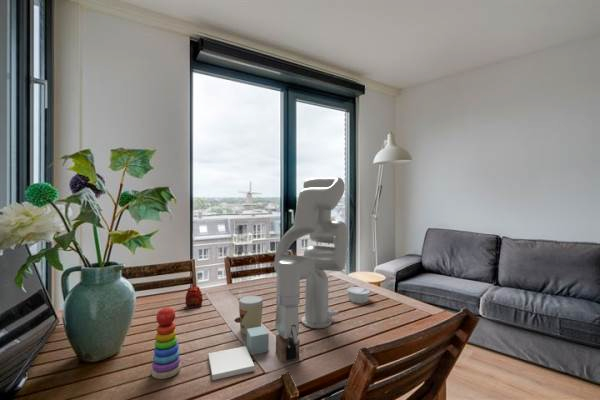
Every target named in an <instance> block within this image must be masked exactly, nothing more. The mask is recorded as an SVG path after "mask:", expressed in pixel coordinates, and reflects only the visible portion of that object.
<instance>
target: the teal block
mask: <svg viewBox="0 0 600 400" xmlns="http://www.w3.org/2000/svg"><path fill="white" fill-rule="evenodd" d="M246 348H247V350H248V352H249V355H255V354H261V353H265V352H268V351H269V332H268V331H267V329H266V327H265V326H264V325H261V326H260V327H255V328H249V329H247V335H246Z"/></svg>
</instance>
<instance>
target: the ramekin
mask: <svg viewBox="0 0 600 400" xmlns="http://www.w3.org/2000/svg"><path fill="white" fill-rule="evenodd" d="M346 291H347V298H348V300H349V302H351V303H354V302H355V303H354V304H366V303H368V301H369V297H370V293H371V292H370V290H369V289H368V288H366V287H363V286H362V287H361V286H350V287H347V290H346ZM365 302H366V303H365Z"/></svg>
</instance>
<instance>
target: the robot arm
mask: <svg viewBox="0 0 600 400" xmlns="http://www.w3.org/2000/svg"><path fill="white" fill-rule="evenodd" d="M345 186H346V185H345V182H344V180H343V178H341V177H337V176H335V177H330V176H329V177H326V176H325V177H324V176H323V177H309V178H307V179H305V180H304V181H303V188H302V189H301V190H300V191H299V194H298V197H297V203H296V208H295V214H294V219H293V224H292V226H291V227H290V228H289V229H288V230H287V231H286V232H285V233H284V234H283V236H282V237H281V238H280V240H279V242H278V243H277V247H276V251H275V256H274V263H273V265H274V266H273V267H274V269H273V270H274V272H275V273H276V302H275V303H276V309H275V311H276V312H275V329H276V331H277V332H278V334H280V335H281V336H282V337H283V338H284V339H287V347H286V359H287V360H291V359H295V358H296V347H297V343H298V339H299V333H300V332H299V331H300V321H301V324H302V325H303V326H306V327H308V328H311V329H324V328H328V327H330V326H331V325H332V322H333V320H332V317H336V316H339V311H338V310H334V311H333V309H329V277H328V275H327V273H326V272H325V271H329V272H342V271H344V269H345V268H346V264H347V254H348V253H347V250H348V249H347V248H348V238H349V237H348V235H349V234H348V233H349V232H348V227H347V224H346V222H343V221H341V220H331V218H332V217H331V216H332V210H334V209H336V207H337V206H338V204H339V203H340V200H341V199H342V197H343V196H344V193H345ZM308 235H309V239H310V241H312V242H314V243H321V244H332V245H334V246H325V245H324V246H323V245H310V246H307V247H306V248H305V249H304V251H303V255H297V254H289V253H288V251H289V249H290V247H291V246H292V244H293V243H294V242H295V241H297V240H299V239H300V238H303V237H305V236H308ZM301 280H305V287H304V288H305V292H304V293H305V294H304V295H305V297H304V301H305V302H304V306H305V307H304V315H303V316H301V320H300V317H299V316H300V315H299V304H300V293H301V292H300V288H301V286H300V282H301ZM290 334H292V336H290ZM292 338H293V340H292V341H291V342H290V340H289V339H292ZM295 360H296V359H295ZM291 361H292V360H291Z"/></svg>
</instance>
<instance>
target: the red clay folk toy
mask: <svg viewBox="0 0 600 400" xmlns="http://www.w3.org/2000/svg"><path fill="white" fill-rule="evenodd" d="M195 276H196V275H195V274H193V275H192V276H189V279H192V278H193V285H192V287H188V289H187V292H186V295H185V305H186V306H185V307H186V308H189V309H190V308H195V309H196V308H199V307H201V306H202V304H203V302H204V301H203V293H202V291H201V289H200V286H196V280H195V279H196V278H195Z"/></svg>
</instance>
